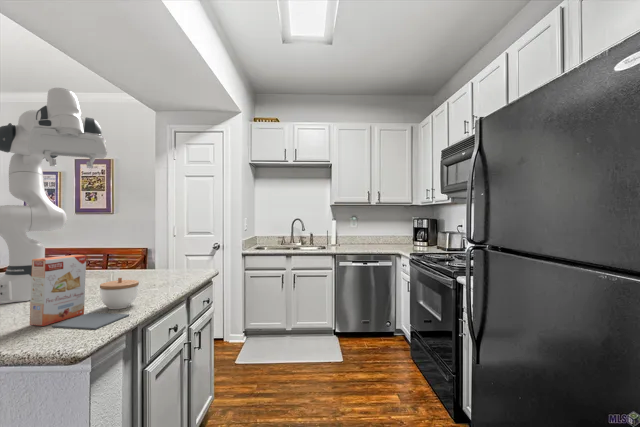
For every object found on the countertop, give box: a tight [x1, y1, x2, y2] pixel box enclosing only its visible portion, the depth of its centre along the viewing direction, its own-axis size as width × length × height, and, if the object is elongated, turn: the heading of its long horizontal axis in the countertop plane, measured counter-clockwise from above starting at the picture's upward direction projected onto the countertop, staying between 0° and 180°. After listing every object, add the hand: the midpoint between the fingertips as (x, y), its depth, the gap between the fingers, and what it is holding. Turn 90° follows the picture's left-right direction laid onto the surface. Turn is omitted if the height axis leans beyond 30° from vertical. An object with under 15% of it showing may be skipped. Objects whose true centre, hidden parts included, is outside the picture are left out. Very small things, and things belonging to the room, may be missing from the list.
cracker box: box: [29, 254, 87, 327], centre depth 105 cm, size 14×6×21 cm, turn 168°
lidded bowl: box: [99, 277, 140, 310], centre depth 121 cm, size 13×13×11 cm
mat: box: [51, 312, 130, 330], centre depth 104 cm, size 15×14×1 cm
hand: (72, 166), depth 102 cm, fingers open, 8 cm apart
